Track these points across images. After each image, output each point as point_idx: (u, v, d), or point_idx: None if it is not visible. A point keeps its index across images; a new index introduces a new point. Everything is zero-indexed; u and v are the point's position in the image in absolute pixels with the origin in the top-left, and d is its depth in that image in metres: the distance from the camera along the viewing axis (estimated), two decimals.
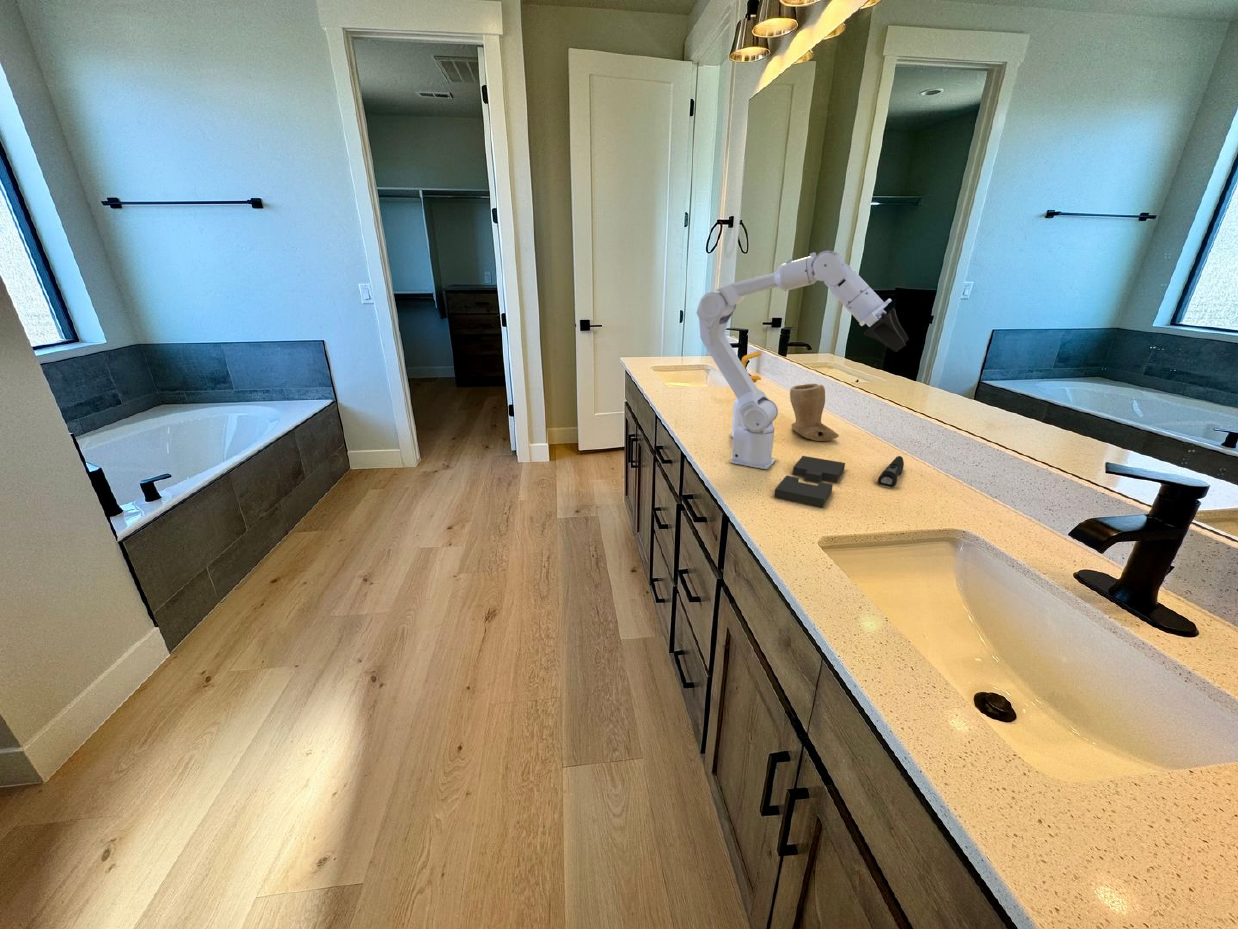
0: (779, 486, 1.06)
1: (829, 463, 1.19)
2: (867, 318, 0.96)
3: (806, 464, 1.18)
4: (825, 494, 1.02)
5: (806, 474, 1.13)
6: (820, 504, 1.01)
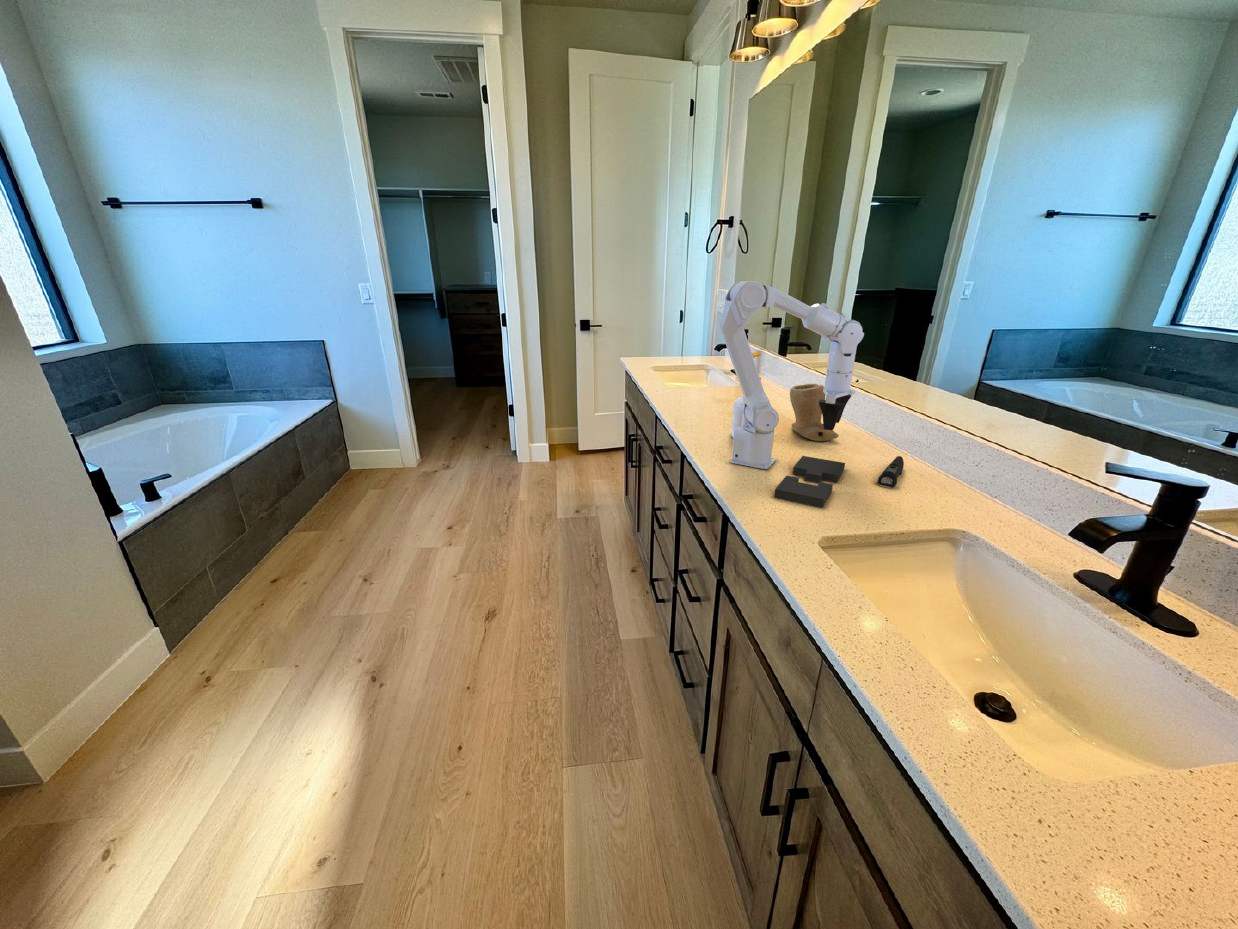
0: (779, 486, 1.06)
1: (829, 463, 1.19)
2: (829, 396, 1.13)
3: (806, 464, 1.18)
4: (825, 494, 1.02)
5: (806, 474, 1.13)
6: (820, 504, 1.01)
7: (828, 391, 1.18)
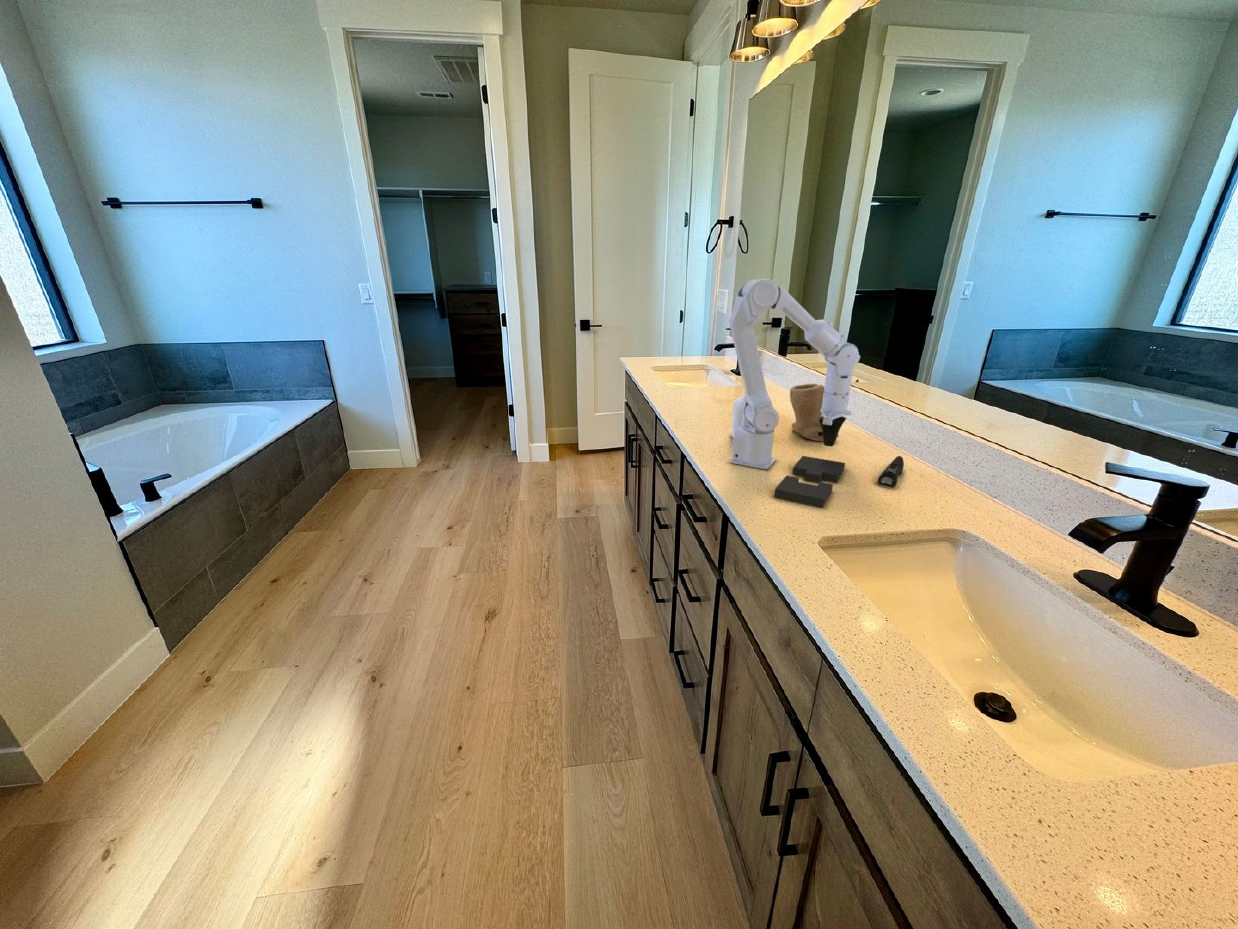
0: (779, 486, 1.06)
1: (829, 463, 1.19)
2: (826, 418, 1.15)
3: (806, 464, 1.18)
4: (825, 494, 1.02)
5: (806, 474, 1.13)
6: (820, 504, 1.01)
7: (825, 412, 1.19)
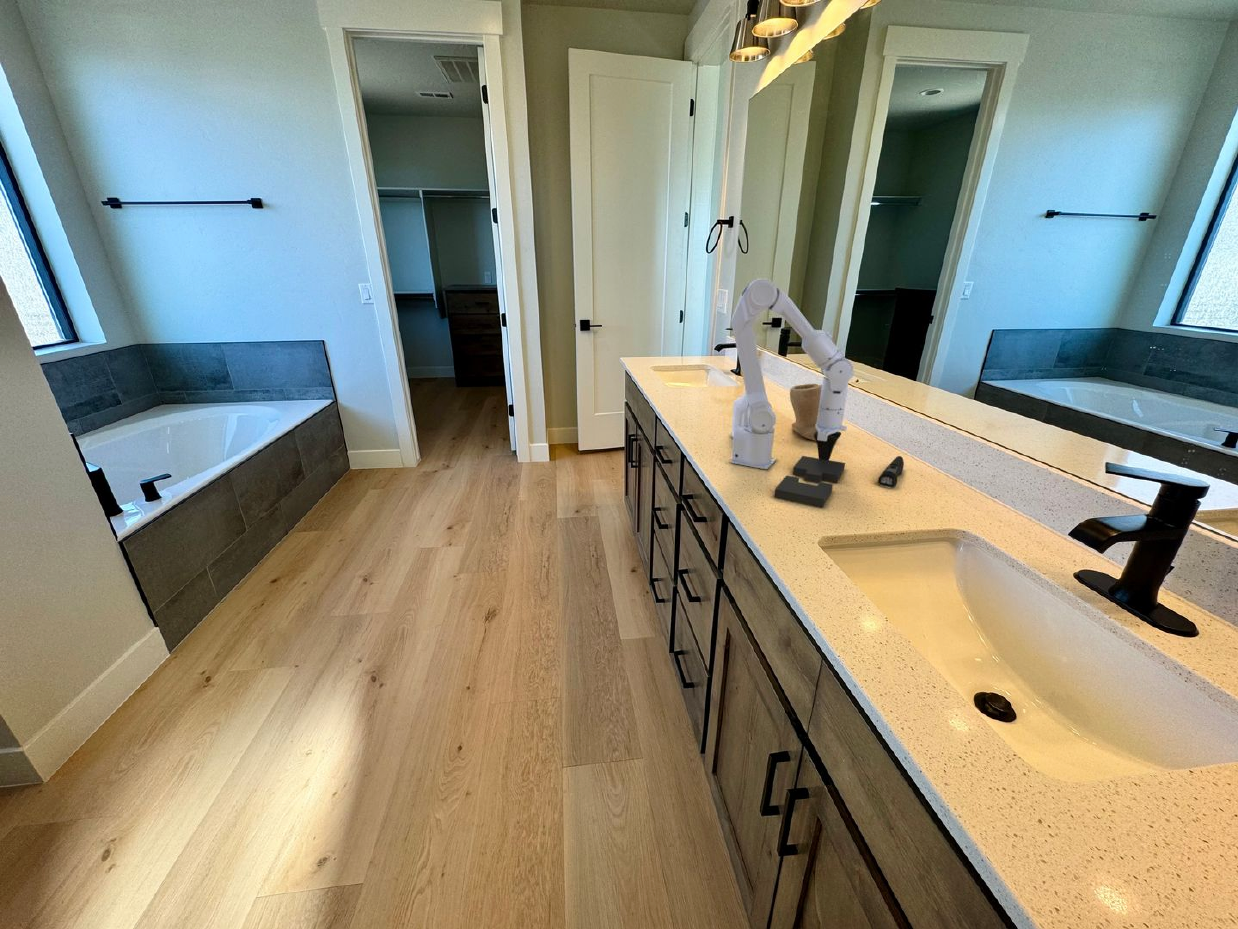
0: (779, 486, 1.06)
1: (829, 463, 1.19)
2: (821, 434, 1.13)
3: (806, 464, 1.18)
4: (825, 494, 1.02)
5: (806, 474, 1.13)
6: (820, 504, 1.01)
7: (820, 427, 1.18)
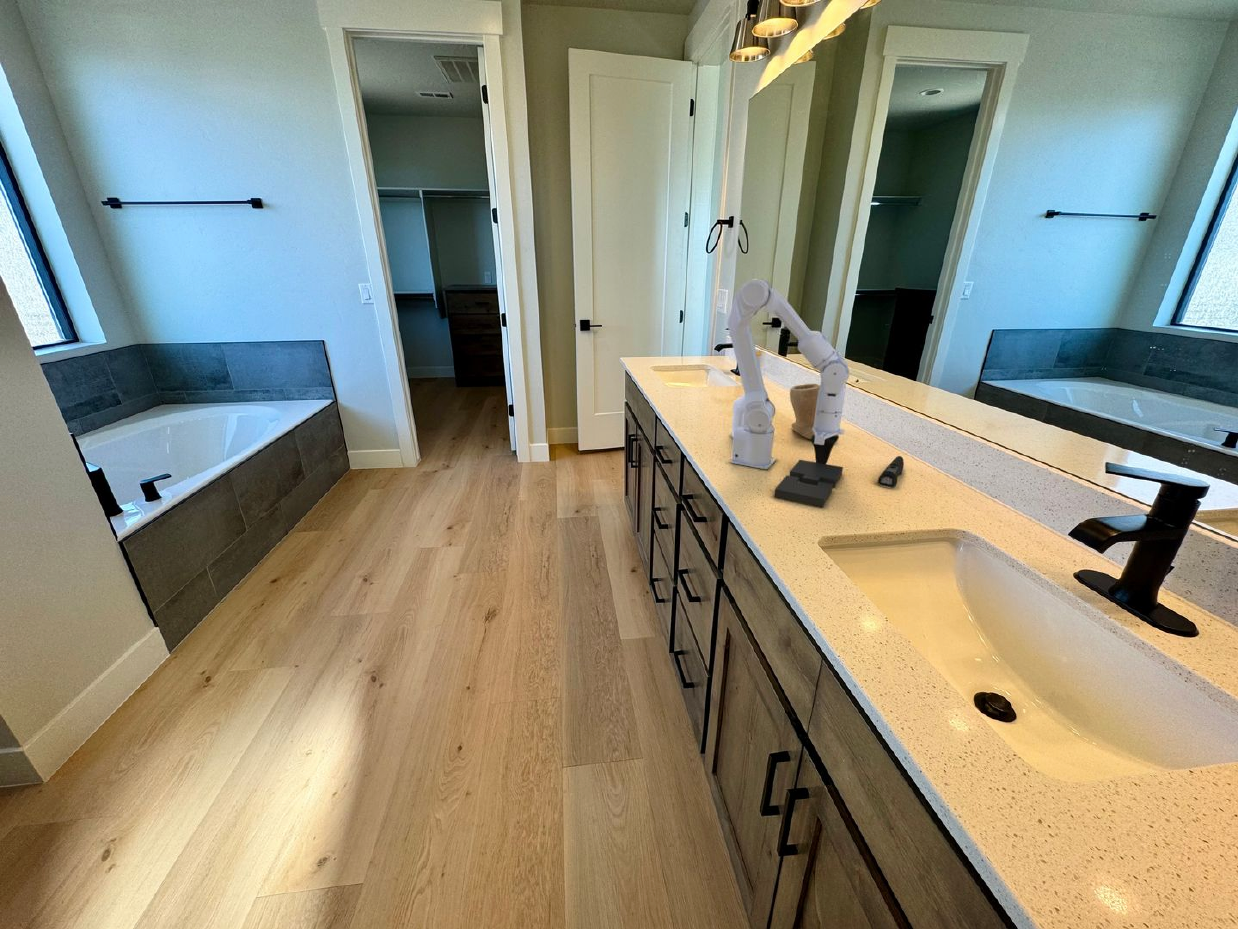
0: (779, 486, 1.06)
1: (827, 467, 1.16)
2: (818, 438, 1.11)
3: (803, 468, 1.16)
4: (825, 494, 1.02)
5: (803, 479, 1.11)
6: (820, 504, 1.01)
7: (817, 430, 1.15)
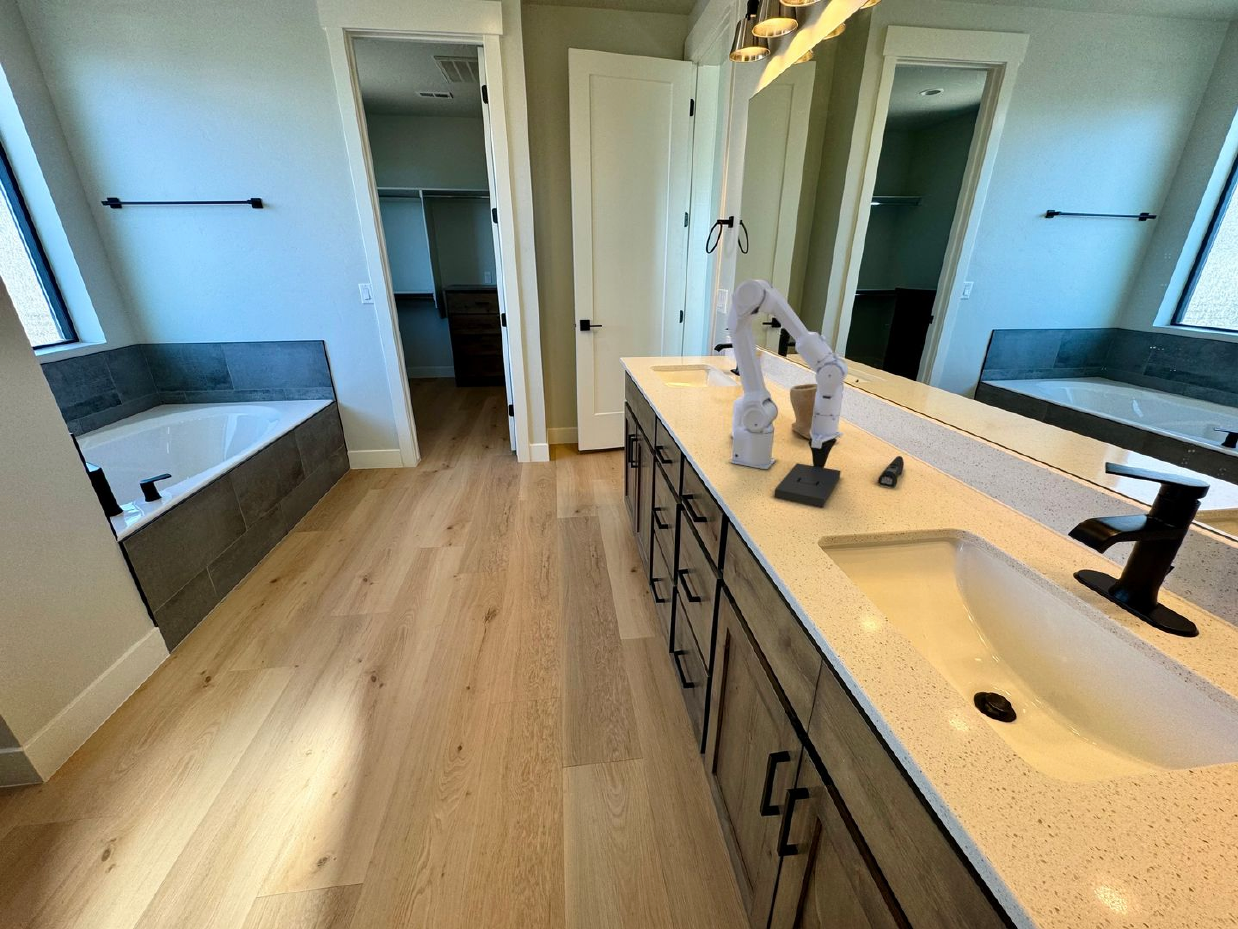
0: (779, 486, 1.06)
1: (824, 471, 1.14)
2: (815, 441, 1.09)
3: (800, 472, 1.14)
4: (825, 494, 1.02)
5: None
6: (820, 504, 1.01)
7: (814, 434, 1.13)
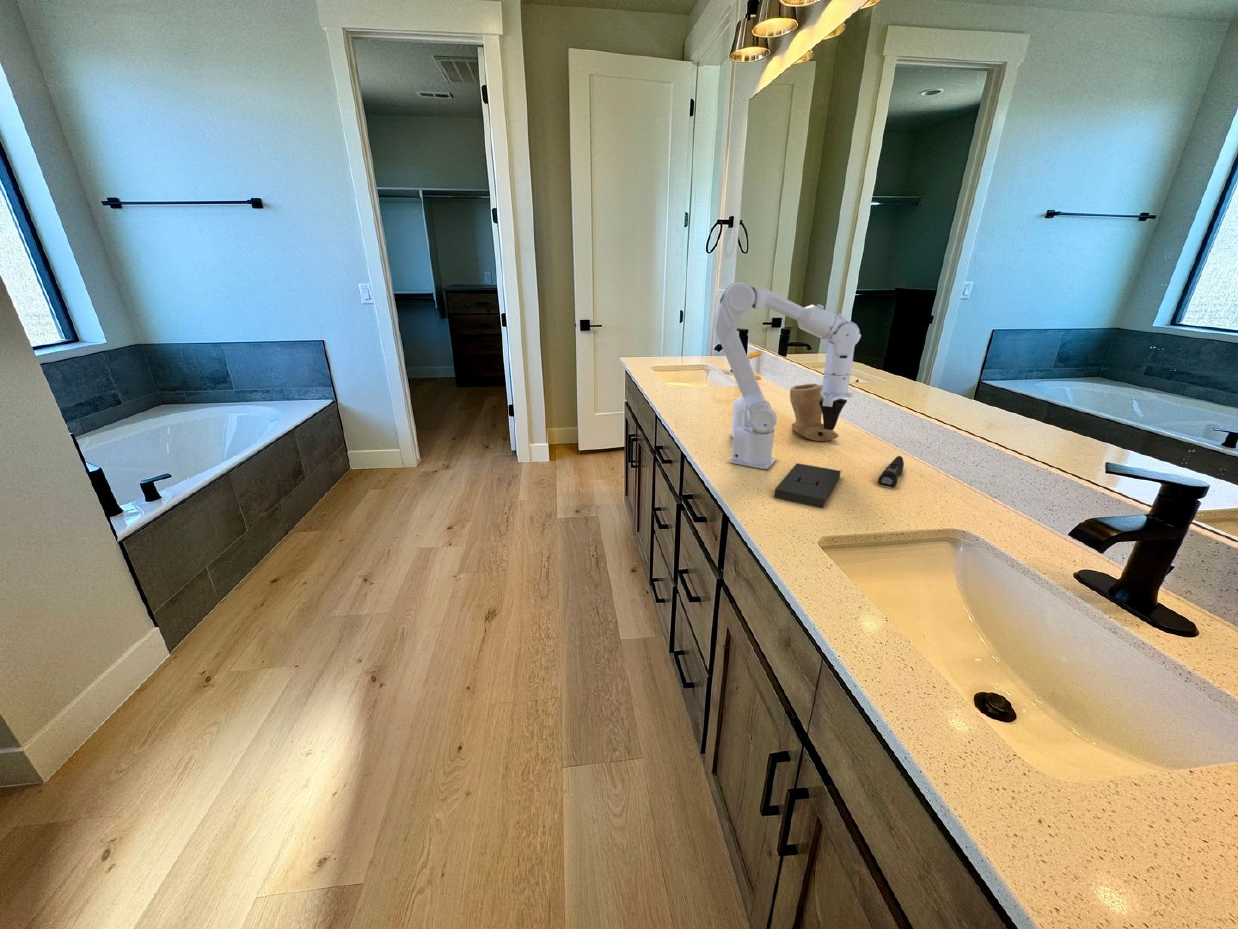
0: (779, 486, 1.06)
1: (824, 471, 1.14)
2: (827, 399, 1.11)
3: (800, 472, 1.14)
4: (825, 494, 1.02)
5: None
6: (820, 504, 1.01)
7: (825, 394, 1.15)
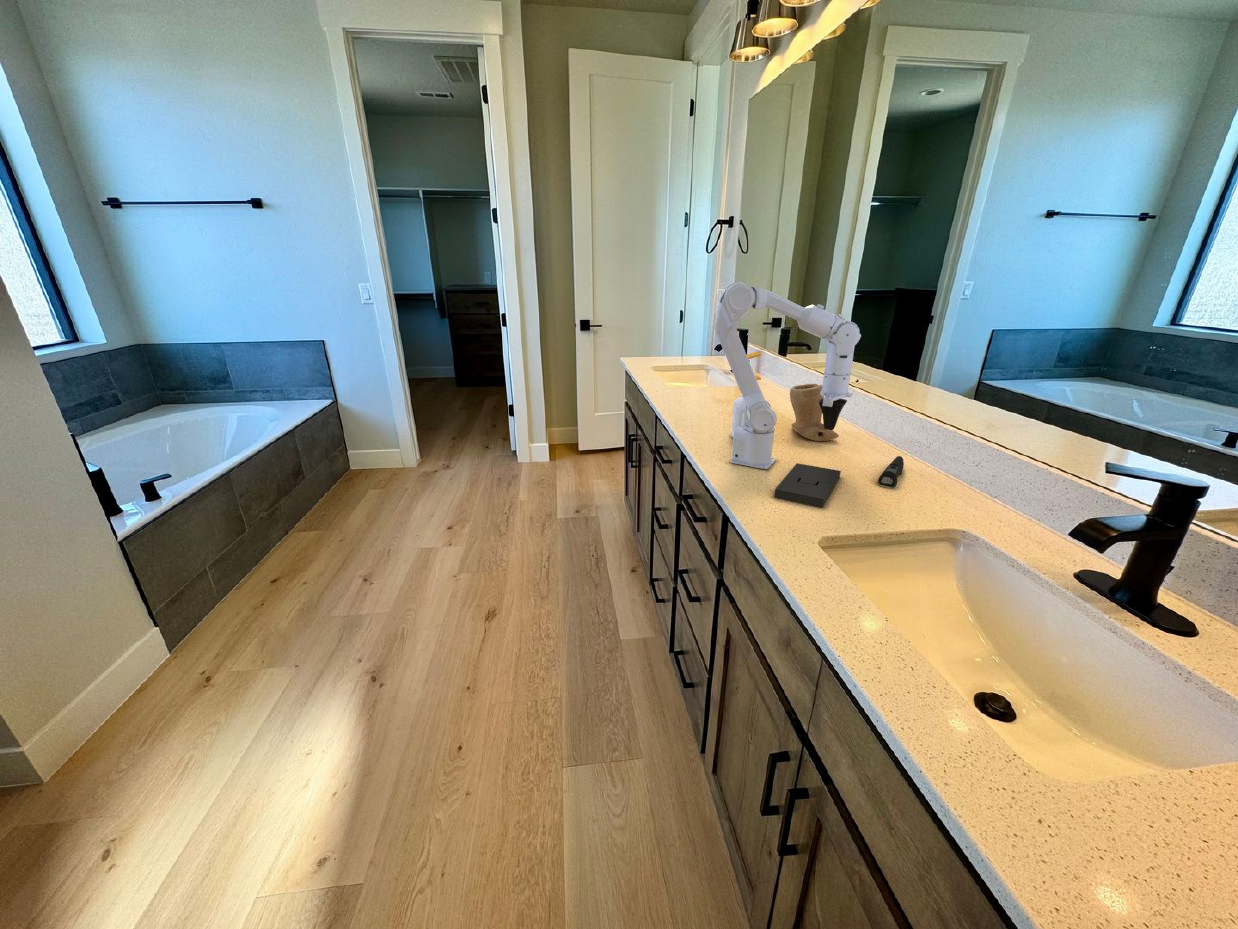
0: (779, 486, 1.06)
1: (824, 471, 1.14)
2: (827, 399, 1.11)
3: (800, 472, 1.14)
4: (825, 494, 1.02)
5: None
6: (820, 504, 1.01)
7: (825, 394, 1.15)
